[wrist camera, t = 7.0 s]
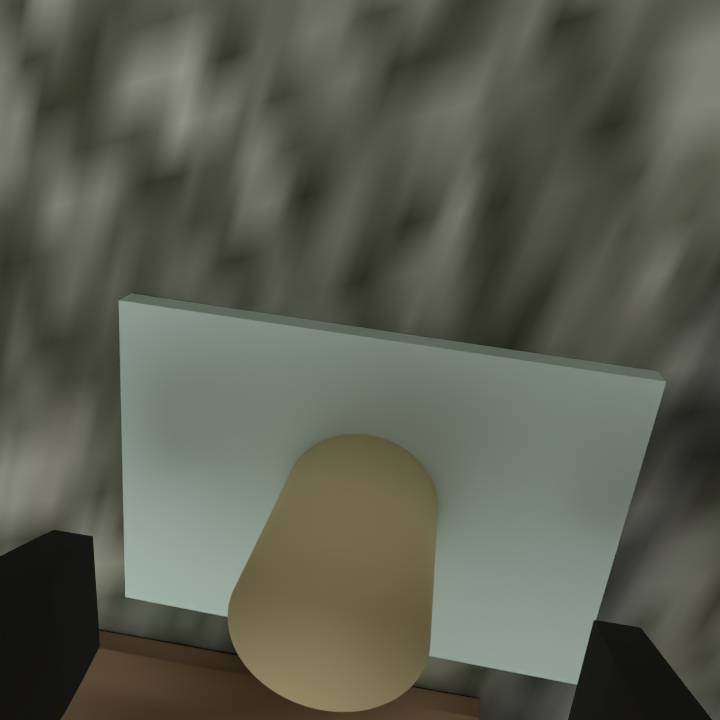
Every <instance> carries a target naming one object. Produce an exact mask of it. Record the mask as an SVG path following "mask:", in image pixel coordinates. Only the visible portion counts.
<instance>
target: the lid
mask: <svg viewBox="0 0 720 720" xmlns="http://www.w3.org/2000/svg"><path fill="white" fill-rule="evenodd" d="M119 336H120V381H121V425H122V469H123V514H124V558H125V597H128V598H133V599H138V600H143V601H148V602H154V603H159V604H164V605H169V606H174V607H179V608H185V609H190V610H195V611H200V612H205V613H210V614H215V615H221V616H226V617H228V628H229V633H230V637H231V640H232V643H233V646H234V648H235V650H236V652H237V654H238V656H239V657H240V659H241V660H242V661H243V663H244V664H245V666H246V667H247V668H248V669H249V670H250V672H251V673H252V674H253V675H254V676H255V677H256V678H257V679H258V680H259V681H261V682H262V683H263V684H264V685H266V686H267V687H268V688H270V689H271V690H272V691H274V692H276V693H277V694H279V695H281V696H282V697H284V698H286V699H289V700H291V701H293V702H295V703H298V704H301V705H303V706H306V707H310V708H314V709H318V710H324V711H331V712H356V711H362V710H368V709H372V708H375V707H379V706H381V705H384V704H386V703H389V702H391V701H392V700H394V699H396V698H398V697H399V696H401V695H402V694H403V693H405V692H406V691H407V690H408V689H409V688H410V687H411V686H412V685H413V684H414V683H415V682H416V681H417V679H418V678H419V676H420V675H421V674H422V672H423V670H424V668H425V665H426V663H427V660H428V656H432V657H437V658H442V659H447V660H453V661H458V662H463V663H468V664H473V665H478V666H483V667H489V668H494V669H499V670H504V671H509V672H514V673H520V674H525V675H530V676H535V677H540V678H545V679H550V680H556V681H561V682H566V683H571V684H576V685H577V683H578V679H579V676H580V672H581V668H582V664H583V660H584V656H585V652H586V648H587V644H588V641H589V637H590V633H591V629H592V625H593V621H594V620H596V618H597V615H598V611H599V608H600V605H601V601H602V598H603V595H604V591H605V588H606V584H607V581H608V578H609V574H610V571H611V567H612V564H613V561H614V557H615V554H616V551H617V547H618V544H619V540H620V537H621V534H622V530H623V527H624V523H625V520H626V517H627V513H628V510H629V507H630V503H631V500H632V496H633V493H634V490H635V486H636V483H637V479H638V476H639V473H640V469H641V466H642V462H643V459H644V456H645V452H646V449H647V446H648V442H649V439H650V435H651V432H652V429H653V425H654V422H655V418H656V415H657V412H658V408H659V405H660V402H661V398H662V395H663V391H664V388H665V385H666V381H665V379H664V378H663V377H662V376H661V374H660V373H659V372H658V371H653V370H646V369H639V368H633V367H626V366H619V365H612V364H606V363H599V362H592V361H585V360H579V359H572V358H565V357H558V356H552V355H545V354H538V353H531V352H524V351H518V350H511V349H504V348H497V347H491V346H484V345H477V344H470V343H464V342H457V341H450V340H443V339H437V338H430V337H423V336H416V335H409V334H403V333H396V332H389V331H382V330H376V329H369V328H362V327H355V326H349V325H342V324H335V323H328V322H321V321H315V320H308V319H301V318H294V317H288V316H281V315H274V314H267V313H261V312H254V311H247V310H240V309H234V308H227V307H220V306H213V305H206V304H200V303H193V302H186V301H179V300H173V299H166V298H159V297H152V296H146V295H139V294H130V295H128V296H126V297H124V298H122V299H120V300H119Z"/></svg>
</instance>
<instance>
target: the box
mask: <svg viewBox="0 0 720 720" xmlns="http://www.w3.org/2000/svg"><path fill="white" fill-rule="evenodd" d="M99 640H100V647H99V649H98V651H97V653H96V655H95V657H94V659H93V661H92V663H91V665H90V667H89V669H88V671H87V673H86V675H85V676H84V678H83V680H82V682H81V684H80V686H79V688H78V690H77V692H76V693H75V695H74V697H73V699H72V701H71V702H70V704H69V706H68V708H67V710H66V712H65V713H64V715H63V716H62V718H61V720H479V699H476V698H470V697H465V696H459V695H454V694H448V693H443V692H437V691H431V690H426V689H420V688H415V687H410V688H409V689H408V690H407V691H406V692H405V693H403V694H402V695H401V696H399V697H398V698H396V699H394V700H392V701H391V702H389V703H386V704H384V705H381V706H379V707H375V708H372V709H368V710H362V711H356V712H331V711H324V710H318V709H314V708H310V707H306V706H303V705H301V704H298V703H295V702H293V701H291V700H289V699H286V698H284V697H282V696H281V695H279V694H277V693H276V692H274V691H272V690H271V689H270V688H268V687H267V686H266V685H264V684H263V683H262V682H261V681H259V680H258V679H257V678H256V677H255V676H254V675H253V674H252V673H251V672H250V670H249V669H248V668H247V667H246V666H245V664H244V663H243V661H242V660H241V659H240V657H239V656H238V655H232V654H226V653H221V652H215V651H210V650H204V649H199V648H193V647H188V646H182V645H177V644H171V643H166V642H160V641H154V640H149V639H143V638H138V637H132V636H127V635H121V634H116V633H110V632H105V631H99Z"/></svg>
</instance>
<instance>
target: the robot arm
mask: <svg viewBox="0 0 720 720" xmlns="http://www.w3.org/2000/svg"><path fill="white" fill-rule="evenodd" d="M99 647H100V640H99V625H98V610H97V595H96V580H95V565H94V549H93V536H87V535H81V534H75V533H69V532H63V531H57V530H53V531H51V532H49V533H46V534H44V535H42V536H40V537H38V538H36V539H34V540H32V541H30V542H28V543H26V544H24V545H22V546H20V547H18V548H16V549H14V550H12V551H10V552H8V553H6V554H4V555H2V556H0V720H61V718H62V716H63V715H64V713H65V712H66V710H67V708H68V706H69V704H70V702H71V701H72V699H73V697H74V695H75V693H76V692H77V690H78V688H79V686H80V684H81V682H82V680H83V678H84V676H85V675H86V673H87V671H88V669H89V667H90V665H91V663H92V661H93V659H94V657H95V655H96V653H97V651H98V649H99ZM568 720H712V719H711V718H710V717H709V715H708V714H707V713H706V711H705V710H704V709H703V708H702V706H701V705H700V704H699V703H698V701H697V700H696V699H695V697H694V696H693V695H692V694H691V692H690V691H689V690H688V688H687V687H686V686H685V685H684V683H683V682H682V681H681V679H680V678H679V677H678V675H677V674H676V673H675V672H674V670H673V669H672V668H671V666H670V665H669V664H668V662H667V661H666V660H665V659H664V657H663V656H662V655H661V653H660V652H659V651H658V649H657V648H656V647H655V646H654V644H653V643H652V642H651V640H650V639H649V638H648V637H647V635H646V634H645V633H644V632H643V630H642V629H641V628H639V627H633V626H627V625H621V624H615V623H609V622H603V621H597V620H594V621H593V625H592V629H591V633H590V637H589V641H588V644H587V648H586V652H585V656H584V660H583V664H582V668H581V672H580V676H579V680H578V683H577V687H576V691H575V695H574V699H573V703H572V707H571V711H570V715H569V718H568Z"/></svg>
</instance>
